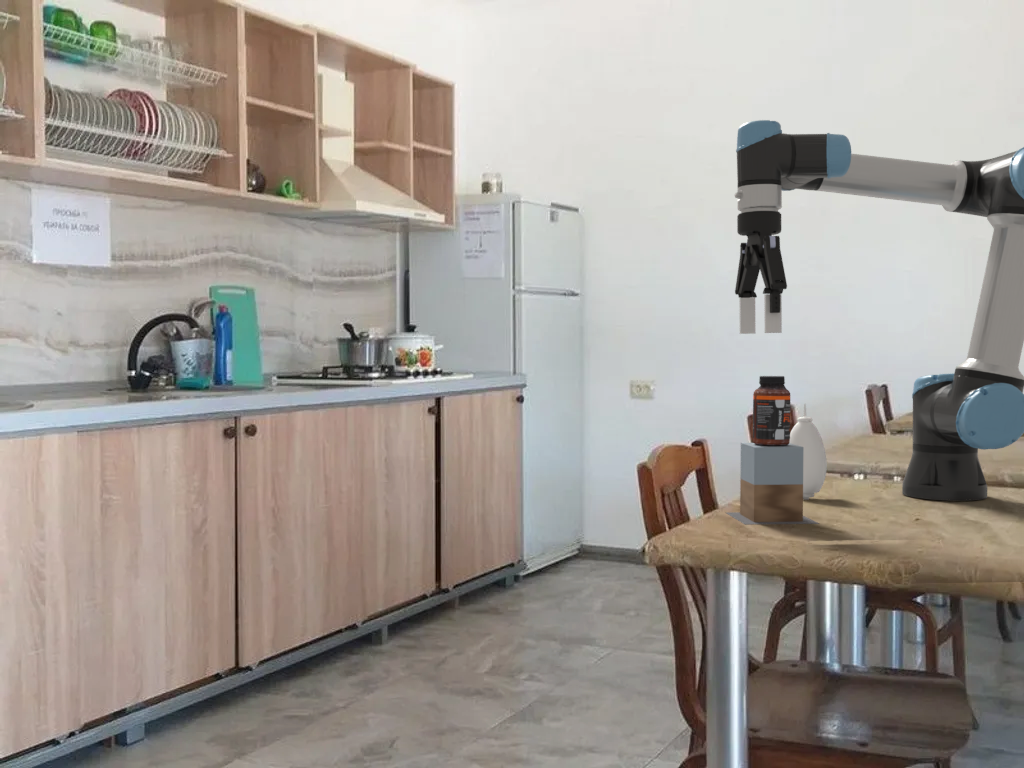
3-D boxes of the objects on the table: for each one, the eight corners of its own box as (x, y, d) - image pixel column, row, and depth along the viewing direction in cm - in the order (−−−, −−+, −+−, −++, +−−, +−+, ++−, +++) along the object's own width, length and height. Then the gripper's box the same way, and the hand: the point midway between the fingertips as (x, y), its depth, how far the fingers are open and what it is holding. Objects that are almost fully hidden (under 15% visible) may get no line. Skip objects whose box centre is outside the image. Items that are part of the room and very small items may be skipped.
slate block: (787, 478, 182) (787, 442, 182) (803, 484, 174) (803, 447, 174) (740, 478, 182) (740, 442, 182) (754, 484, 174) (754, 447, 174)
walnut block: (787, 513, 182) (787, 478, 182) (802, 521, 174) (803, 484, 174) (740, 514, 182) (740, 478, 182) (753, 522, 174) (754, 484, 174)
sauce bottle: (810, 503, 199) (811, 404, 198) (774, 498, 204) (775, 403, 204) (834, 499, 204) (834, 403, 203) (798, 494, 210) (799, 401, 209)
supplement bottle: (791, 447, 174) (791, 376, 174) (753, 446, 176) (753, 376, 175) (789, 443, 180) (789, 375, 180) (752, 443, 181) (752, 375, 181)
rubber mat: (794, 515, 185) (794, 511, 185) (819, 527, 173) (819, 523, 173) (725, 516, 184) (725, 512, 184) (744, 528, 172) (744, 524, 172)
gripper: (717, 220, 202) (718, 334, 203) (761, 202, 177) (762, 332, 178) (756, 219, 203) (757, 333, 203) (806, 202, 178) (807, 332, 179)
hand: (759, 333), depth 191 cm, fingers open, 13 cm apart
